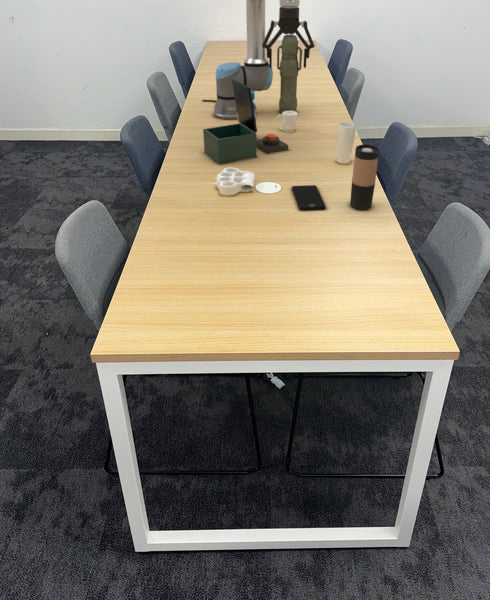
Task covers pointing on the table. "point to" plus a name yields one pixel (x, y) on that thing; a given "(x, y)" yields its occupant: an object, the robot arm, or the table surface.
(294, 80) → the thermos
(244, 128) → the green box
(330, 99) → the table surface
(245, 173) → the white holed block
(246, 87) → the box lid
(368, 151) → the travel mug
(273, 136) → the button
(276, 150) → the control pad
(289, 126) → the cup
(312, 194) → the cell phone
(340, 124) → the drinking glass
